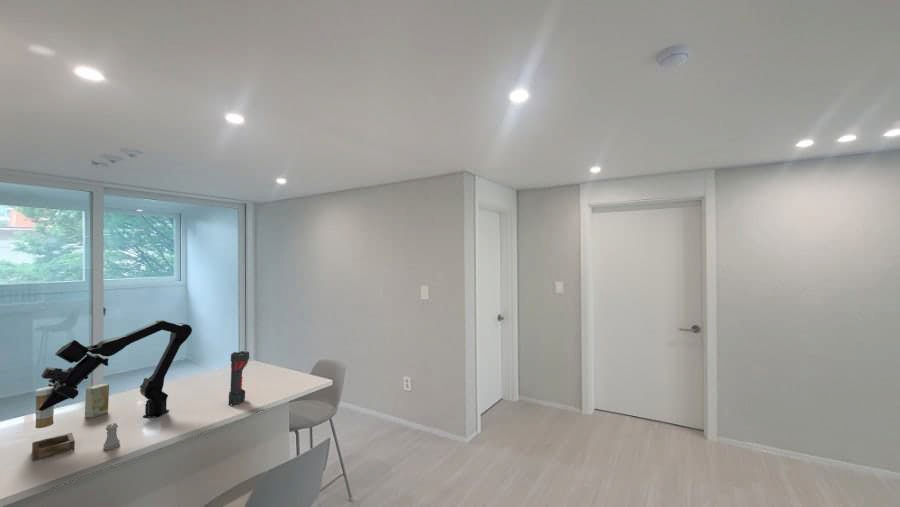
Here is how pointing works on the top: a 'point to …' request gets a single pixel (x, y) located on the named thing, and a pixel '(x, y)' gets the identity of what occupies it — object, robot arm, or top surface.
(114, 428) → the rook chess piece
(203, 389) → the top surface
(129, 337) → the robot arm
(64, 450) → the walnut holder
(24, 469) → the top surface
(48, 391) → the sprinkles bottle
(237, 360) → the flashlight
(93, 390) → the skincare box
